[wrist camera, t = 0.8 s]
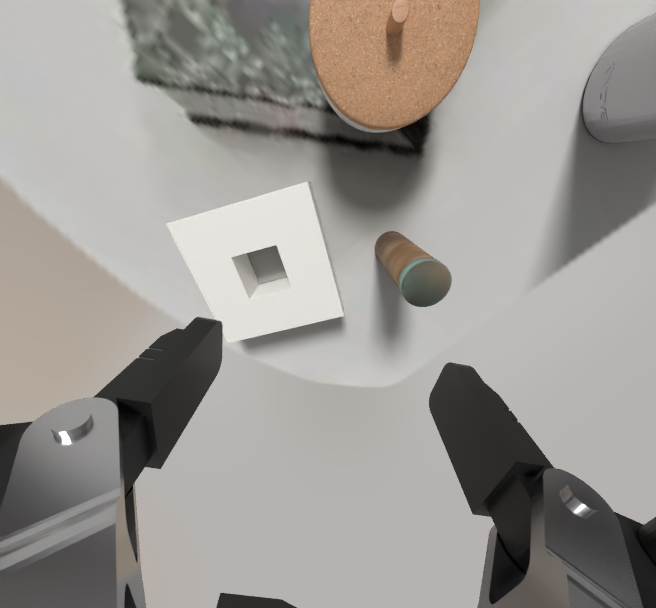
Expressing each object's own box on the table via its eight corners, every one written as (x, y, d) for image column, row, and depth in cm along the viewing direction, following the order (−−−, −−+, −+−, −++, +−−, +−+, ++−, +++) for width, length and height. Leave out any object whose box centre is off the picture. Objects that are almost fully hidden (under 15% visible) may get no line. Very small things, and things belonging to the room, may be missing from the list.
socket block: (310, 181, 27) (307, 181, 23) (341, 299, 33) (344, 315, 29) (188, 217, 28) (166, 223, 24) (239, 323, 34) (228, 343, 30)
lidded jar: (430, 134, 25) (483, 111, 17) (322, 149, 26) (320, 134, 17) (437, -24, 21) (514, -166, 12) (305, -1, 21) (290, -122, 13)
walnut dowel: (404, 227, 29) (450, 254, 18) (408, 258, 30) (452, 300, 20) (371, 235, 29) (397, 267, 19) (377, 265, 31) (404, 311, 20)
